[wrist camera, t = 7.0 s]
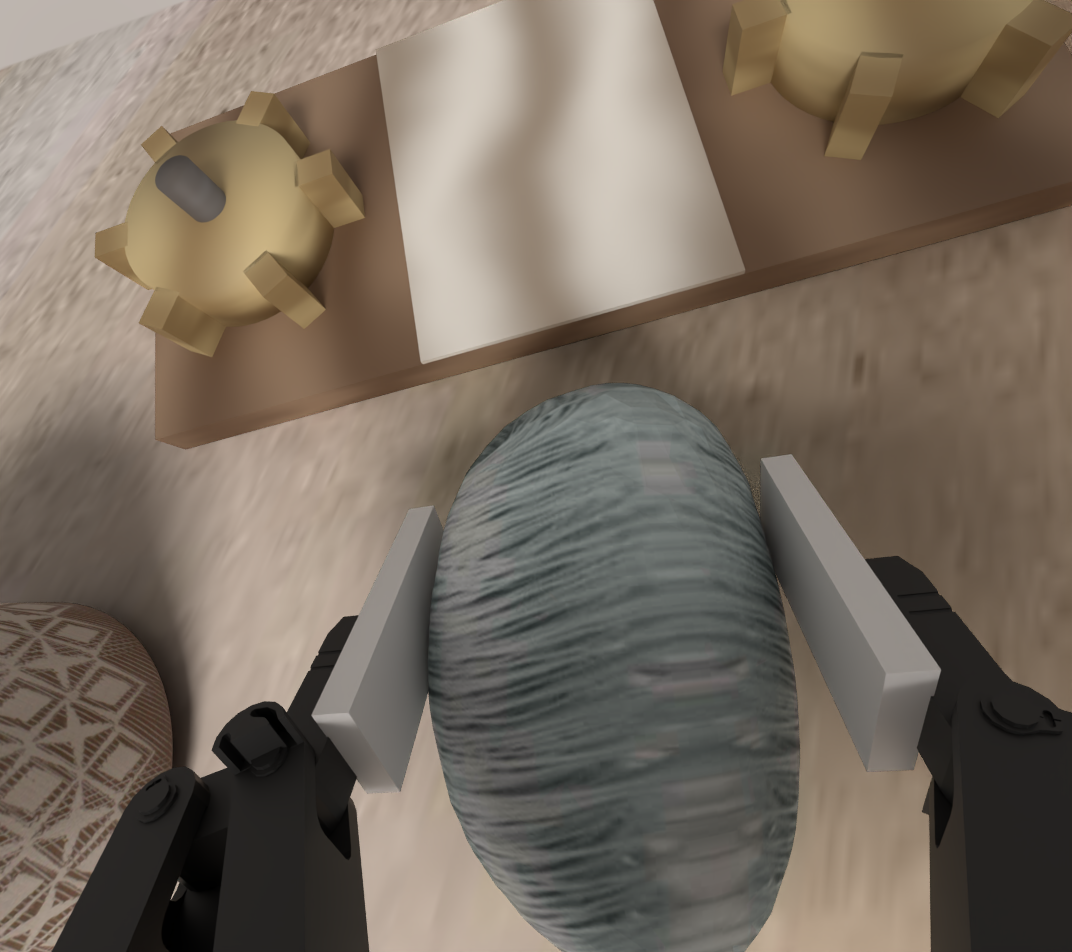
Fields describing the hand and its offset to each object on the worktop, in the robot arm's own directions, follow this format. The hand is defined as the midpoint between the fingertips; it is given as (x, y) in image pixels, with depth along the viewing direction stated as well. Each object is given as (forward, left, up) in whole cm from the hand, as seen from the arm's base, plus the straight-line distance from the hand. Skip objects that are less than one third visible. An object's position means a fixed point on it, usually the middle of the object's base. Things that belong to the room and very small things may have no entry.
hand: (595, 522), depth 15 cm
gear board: (-1, -16, -4) cm, 16 cm away
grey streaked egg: (0, +3, -4) cm, 5 cm away
